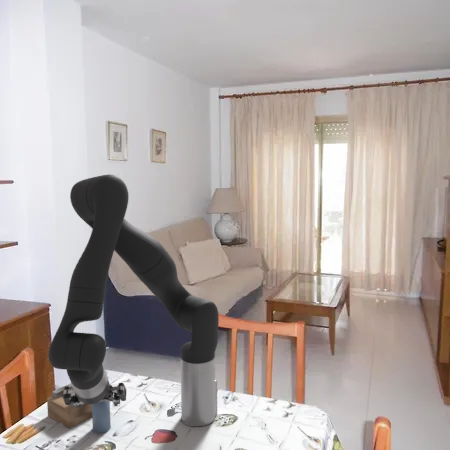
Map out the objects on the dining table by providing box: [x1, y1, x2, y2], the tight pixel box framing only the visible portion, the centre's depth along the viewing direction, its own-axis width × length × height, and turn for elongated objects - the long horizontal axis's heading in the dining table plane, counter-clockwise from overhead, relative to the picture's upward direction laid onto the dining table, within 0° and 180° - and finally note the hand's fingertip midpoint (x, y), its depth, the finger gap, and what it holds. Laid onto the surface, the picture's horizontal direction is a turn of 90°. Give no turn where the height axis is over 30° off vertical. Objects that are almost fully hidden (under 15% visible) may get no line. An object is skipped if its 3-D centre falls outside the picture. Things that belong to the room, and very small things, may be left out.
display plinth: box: [46, 383, 92, 429], centre depth 119 cm, size 10×10×6 cm
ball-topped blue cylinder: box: [91, 401, 112, 435], centre depth 112 cm, size 5×5×10 cm
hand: (99, 403), depth 109 cm, fingers open, 8 cm apart
